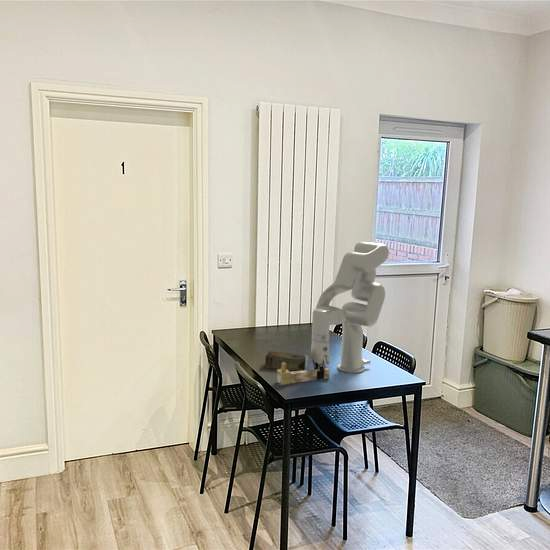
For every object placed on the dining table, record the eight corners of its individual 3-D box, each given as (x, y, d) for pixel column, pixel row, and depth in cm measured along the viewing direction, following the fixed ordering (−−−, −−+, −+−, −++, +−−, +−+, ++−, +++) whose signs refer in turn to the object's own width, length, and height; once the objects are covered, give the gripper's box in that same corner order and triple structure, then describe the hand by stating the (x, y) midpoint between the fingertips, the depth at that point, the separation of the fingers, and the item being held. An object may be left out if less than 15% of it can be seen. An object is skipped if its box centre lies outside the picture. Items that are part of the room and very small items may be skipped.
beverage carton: (305, 372, 250) (305, 358, 249) (264, 368, 254) (264, 354, 253) (308, 367, 257) (308, 353, 256) (268, 363, 261) (268, 350, 260)
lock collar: (285, 380, 237) (285, 361, 235) (290, 384, 232) (290, 364, 231) (276, 381, 235) (277, 361, 234) (281, 385, 231) (282, 365, 229)
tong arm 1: (326, 376, 243) (327, 368, 242) (327, 377, 242) (328, 368, 241) (289, 380, 236) (289, 371, 236) (290, 381, 235) (290, 372, 234)
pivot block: (286, 381, 236) (286, 371, 235) (289, 384, 233) (289, 374, 232) (277, 382, 234) (277, 372, 234) (280, 385, 231) (280, 375, 231)
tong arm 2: (327, 377, 242) (328, 368, 241) (329, 378, 241) (329, 369, 240) (290, 382, 235) (291, 373, 234) (292, 382, 234) (292, 374, 233)
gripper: (337, 341, 231) (335, 383, 234) (319, 332, 246) (317, 371, 249) (321, 342, 228) (319, 385, 231) (304, 333, 243) (302, 373, 246)
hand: (318, 377), depth 240 cm, fingers open, 2 cm apart
